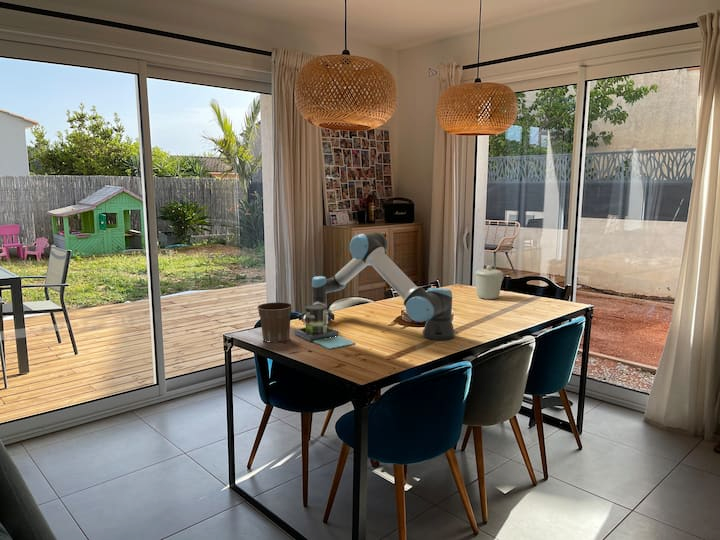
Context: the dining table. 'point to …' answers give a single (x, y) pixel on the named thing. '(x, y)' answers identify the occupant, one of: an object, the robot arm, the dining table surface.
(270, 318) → the plant pot
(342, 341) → the mat
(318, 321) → the coffee can
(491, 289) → the canister
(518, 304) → the dining table surface
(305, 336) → the socket frame
